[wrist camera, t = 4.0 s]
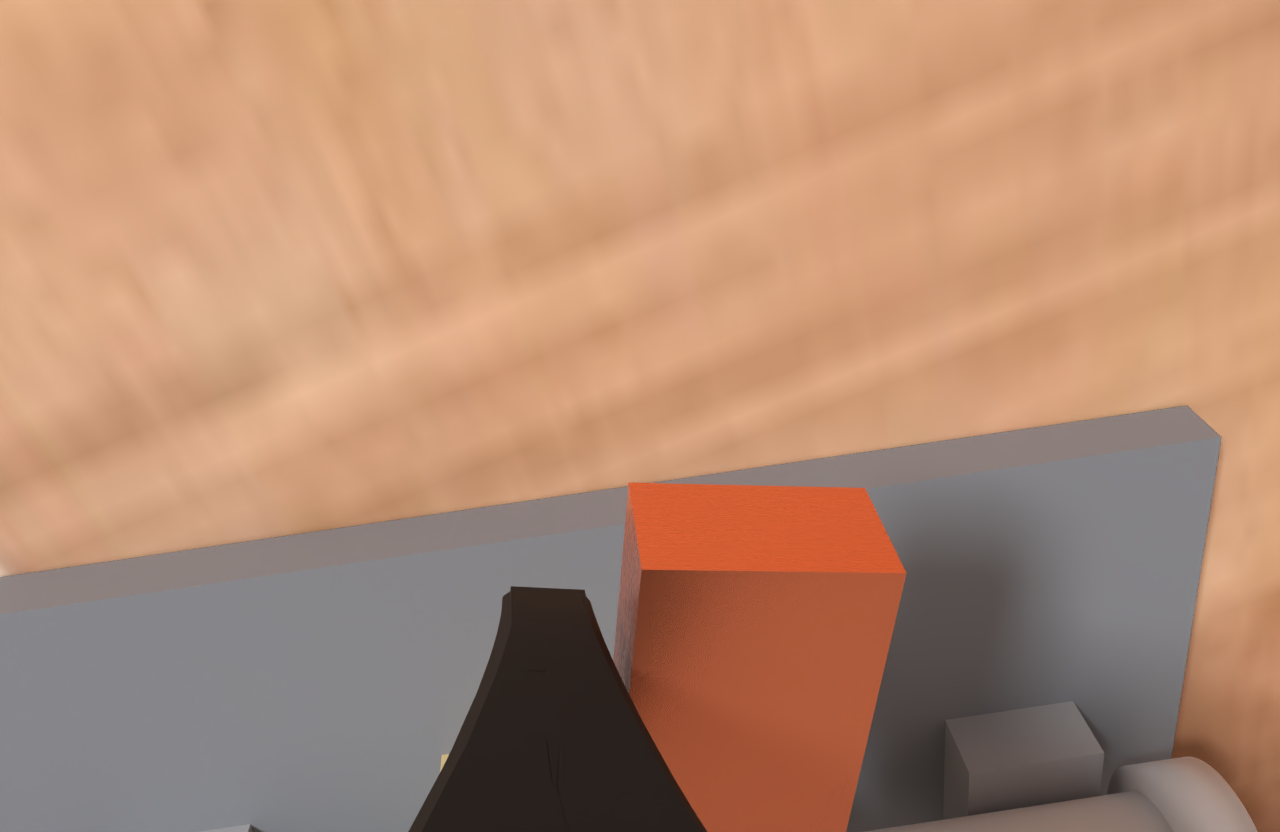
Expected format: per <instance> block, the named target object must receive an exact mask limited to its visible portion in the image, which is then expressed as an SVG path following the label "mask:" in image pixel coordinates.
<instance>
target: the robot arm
mask: <svg viewBox="0 0 1280 832" xmlns="http://www.w3.org/2000/svg"><path fill="white" fill-rule="evenodd" d="M408 832H707V830H706V829H705V827H704V826H703V824H702V822H701V821H700V819H699V818H698V816H697V815H696V813H695V812H694V810H693V808H692V807H691V805H690V803H689V802H688V800H687V798H686V797H685V795H684V793H683V792H682V790H681V788H680V787H679V785H678V783H677V782H676V780H675V778H674V777H673V775H672V773H671V772H670V770H669V768H668V766H667V764H666V763H665V761H664V759H663V757H662V755H661V754H660V752H659V750H658V748H657V746H656V744H655V743H654V741H653V739H652V737H651V735H650V734H649V732H648V730H647V728H646V726H645V725H644V723H643V721H642V719H641V717H640V715H639V713H638V711H637V709H636V707H635V705H634V703H633V702H632V700H631V698H630V696H629V693H628V691H627V689H626V687H625V685H624V683H623V681H622V679H621V677H620V674H619V672H618V670H617V668H616V666H615V664H614V662H613V659H612V657H611V655H610V652H609V650H608V648H607V645H606V643H605V641H604V638H603V636H602V633H601V631H600V628H599V625H598V623H597V620H596V617H595V614H594V611H593V608H592V605H591V602H590V600H589V599H588V598H587V597H586V594H585V590H580V589H559V588H538V587H517V586H511V588H510V592H508V593H507V594H505V595H504V596H503V598H502V610H501V617H500V622H499V626H498V631H497V635H496V639H495V642H494V646H493V649H492V652H491V655H490V658H489V661H488V664H487V666H486V669H485V672H484V675H483V677H482V680H481V683H480V686H479V688H478V691H477V693H476V696H475V698H474V700H473V702H472V705H471V707H470V709H469V711H468V714H467V716H466V718H465V720H464V723H463V725H462V727H461V729H460V732H459V734H458V736H457V738H456V741H455V743H454V745H453V747H452V750H451V752H450V754H449V756H448V758H447V760H446V762H445V764H444V766H443V768H442V770H441V772H440V774H439V776H438V777H437V779H436V781H435V783H434V785H433V787H432V789H431V790H430V792H429V794H428V796H427V798H426V800H425V802H424V804H423V805H422V807H421V809H420V811H419V813H418V815H417V817H416V818H415V820H414V822H413V824H412V826H411V828H410V830H409V831H408Z"/></svg>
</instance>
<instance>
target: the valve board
mask: <svg viewBox="0 0 1280 832" xmlns="http://www.w3.org/2000/svg"><path fill="white" fill-rule="evenodd" d="M1220 443H1221V436H1220V435H1219V434H1218V433H1216V432H1215V431H1214V430H1213V429H1212V428H1211V427H1210V426H1209V425H1208V424H1207V423H1206V422H1205V421H1204V420H1202V419H1201V418H1200V417H1199V416H1198V415H1197V414H1196V413H1195V412H1194V411H1193V410H1192V409H1191V408H1189V407H1188V406H1181V407H1174V408H1167V409H1160V410H1153V411H1146V412H1139V413H1132V414H1125V415H1118V416H1111V417H1105V418H1098V419H1091V420H1084V421H1077V422H1070V423H1063V424H1056V425H1049V426H1042V427H1035V428H1028V429H1022V430H1015V431H1008V432H1001V433H994V434H987V435H980V436H973V437H966V438H959V439H952V440H945V441H939V442H932V443H925V444H918V445H911V446H904V447H897V448H890V449H883V450H876V451H869V452H863V453H856V454H849V455H842V456H835V457H828V458H821V459H814V460H807V461H800V462H793V463H786V464H780V465H773V466H766V467H759V468H752V469H745V470H738V471H731V472H724V473H717V474H710V475H703V476H697V477H690V478H683V479H676V480H669V481H662V482H655V483H667V484H712V485H758V486H803V487H849V488H865V489H866V491H867V493H868V495H869V497H870V499H871V501H872V503H873V505H874V507H875V509H876V511H877V514H878V516H879V518H880V520H881V522H882V524H883V526H884V528H885V530H886V532H887V534H888V536H889V538H890V540H891V542H892V544H893V546H894V548H895V551H896V553H897V555H898V557H899V559H900V561H901V563H902V565H903V567H904V569H905V571H906V578H905V582H904V586H903V590H902V595H901V599H900V603H899V608H898V612H897V616H896V620H895V625H894V629H893V633H892V638H891V642H890V646H889V650H888V655H887V659H886V663H885V667H884V672H883V676H882V680H881V685H880V689H879V693H878V697H877V702H876V706H875V710H874V715H873V719H872V723H871V727H870V732H869V736H868V740H867V745H866V749H865V753H864V757H863V762H862V766H861V770H860V774H859V779H858V783H857V787H856V792H855V796H854V800H853V804H852V809H851V813H850V817H849V822H848V826H847V830H846V832H1258V831H1257V829H1256V827H1255V825H1254V823H1253V821H1252V819H1251V817H1250V816H1249V814H1248V812H1247V810H1246V809H1245V807H1244V805H1243V804H1242V802H1241V801H1240V799H1239V798H1238V796H1237V795H1236V793H1235V792H1234V791H1233V789H1232V788H1231V787H1230V785H1229V784H1228V783H1227V782H1226V780H1225V779H1224V778H1223V777H1222V776H1221V775H1220V774H1219V773H1218V772H1217V771H1216V770H1215V769H1214V768H1212V767H1211V766H1210V765H1209V764H1207V763H1206V762H1204V761H1203V760H1200V759H1198V758H1196V757H1191V756H1185V757H1178V758H1172V759H1171V757H1172V751H1173V744H1174V738H1175V732H1176V725H1177V719H1178V712H1179V706H1180V700H1181V693H1182V687H1183V680H1184V674H1185V667H1186V661H1187V655H1188V648H1189V642H1190V635H1191V629H1192V622H1193V616H1194V610H1195V603H1196V597H1197V590H1198V584H1199V578H1200V571H1201V565H1202V558H1203V552H1204V545H1205V539H1206V533H1207V526H1208V520H1209V513H1210V507H1211V501H1212V494H1213V488H1214V481H1215V475H1216V468H1217V462H1218V456H1219V449H1220ZM627 498H628V486H627V487H621V488H614V489H607V490H600V491H593V492H586V493H579V494H572V495H565V496H558V497H551V498H544V499H538V500H531V501H524V502H517V503H510V504H503V505H496V506H489V507H482V508H475V509H468V510H461V511H455V512H448V513H441V514H434V515H427V516H420V517H413V518H406V519H399V520H392V521H385V522H379V523H372V524H365V525H358V526H351V527H344V528H337V529H330V530H323V531H316V532H309V533H302V534H296V535H289V536H282V537H275V538H268V539H261V540H254V541H247V542H240V543H233V544H226V545H219V546H213V547H206V548H199V549H192V550H185V551H178V552H171V553H164V554H157V555H150V556H143V557H137V558H130V559H123V560H116V561H109V562H102V563H95V564H88V565H81V566H74V567H67V568H60V569H54V570H47V571H40V572H33V573H26V574H19V575H12V576H5V577H0V832H408V831H409V830H410V828H411V826H412V824H413V822H414V820H415V818H416V817H417V815H418V813H419V811H420V809H421V807H422V805H423V804H424V802H425V800H426V798H427V796H428V794H429V792H430V790H431V789H432V787H433V785H434V783H435V781H436V779H437V777H438V776H439V774H440V772H441V770H442V768H443V766H444V764H445V762H446V760H447V758H448V756H449V754H450V752H451V750H452V747H453V745H454V743H455V741H456V738H457V736H458V734H459V732H460V729H461V727H462V725H463V723H464V720H465V718H466V716H467V714H468V711H469V709H470V707H471V705H472V702H473V700H474V698H475V696H476V693H477V691H478V688H479V686H480V683H481V680H482V677H483V675H484V672H485V669H486V666H487V664H488V661H489V658H490V655H491V652H492V649H493V646H494V642H495V639H496V635H497V631H498V626H499V622H500V617H501V610H502V598H503V596H504V595H505V594H507V593H508V592H510V588H511V586H517V587H538V588H559V589H580V590H585V594H586V597H587V598H588V599H589V600H590V602H591V605H592V608H593V611H594V614H595V617H596V620H597V623H598V625H599V628H600V631H601V633H602V636H603V638H604V641H605V643H606V645H607V648H608V650H609V652H610V655H611V657H612V659H613V657H614V646H615V634H616V623H617V611H618V600H619V589H620V577H621V566H622V554H623V543H624V532H625V520H626V509H627Z"/></svg>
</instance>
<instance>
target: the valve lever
mask: <svg viewBox="0 0 1280 832" xmlns="http://www.w3.org/2000/svg"><path fill="white" fill-rule="evenodd" d="M905 578H906V571H905V569H904V567H903V565H902V563H901V561H900V559H899V557H898V555H897V553H896V551H895V548H894V546H893V544H892V542H891V540H890V538H889V536H888V534H887V532H886V530H885V528H884V526H883V524H882V522H881V520H880V518H879V516H878V514H877V511H876V509H875V507H874V505H873V503H872V501H871V499H870V497H869V495H868V493H867V491H866V489H865V488H849V487H803V486H758V485H712V484H667V483H629V486H628V498H627V509H626V520H625V532H624V543H623V554H622V566H621V577H620V589H619V600H618V611H617V623H616V634H615V646H614V657H613V662H614V664H615V666H616V668H617V670H618V672H619V674H620V677H621V679H622V681H623V683H624V685H625V687H626V689H627V691H628V693H629V696H630V698H631V700H632V702H633V703H634V705H635V707H636V709H637V711H638V713H639V715H640V717H641V719H642V721H643V723H644V725H645V726H646V728H647V730H648V732H649V734H650V735H651V737H652V739H653V741H654V743H655V744H656V746H657V748H658V750H659V752H660V754H661V755H662V757H663V759H664V761H665V763H666V764H667V766H668V768H669V770H670V772H671V773H672V775H673V777H674V778H675V780H676V782H677V783H678V785H679V787H680V788H681V790H682V792H683V793H684V795H685V797H686V798H687V800H688V802H689V803H690V805H691V807H692V808H693V810H694V812H695V813H696V815H697V816H698V818H699V819H700V821H701V822H702V824H703V826H704V827H705V829H706V830H707V832H846V830H847V826H848V822H849V817H850V813H851V809H852V804H853V800H854V796H855V792H856V787H857V783H858V779H859V774H860V770H861V766H862V762H863V757H864V753H865V749H866V745H867V740H868V736H869V732H870V727H871V723H872V719H873V715H874V710H875V706H876V702H877V697H878V693H879V689H880V685H881V680H882V676H883V672H884V667H885V663H886V659H887V655H888V650H889V646H890V642H891V638H892V633H893V629H894V625H895V620H896V616H897V612H898V608H899V603H900V599H901V595H902V590H903V586H904V582H905Z"/></svg>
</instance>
